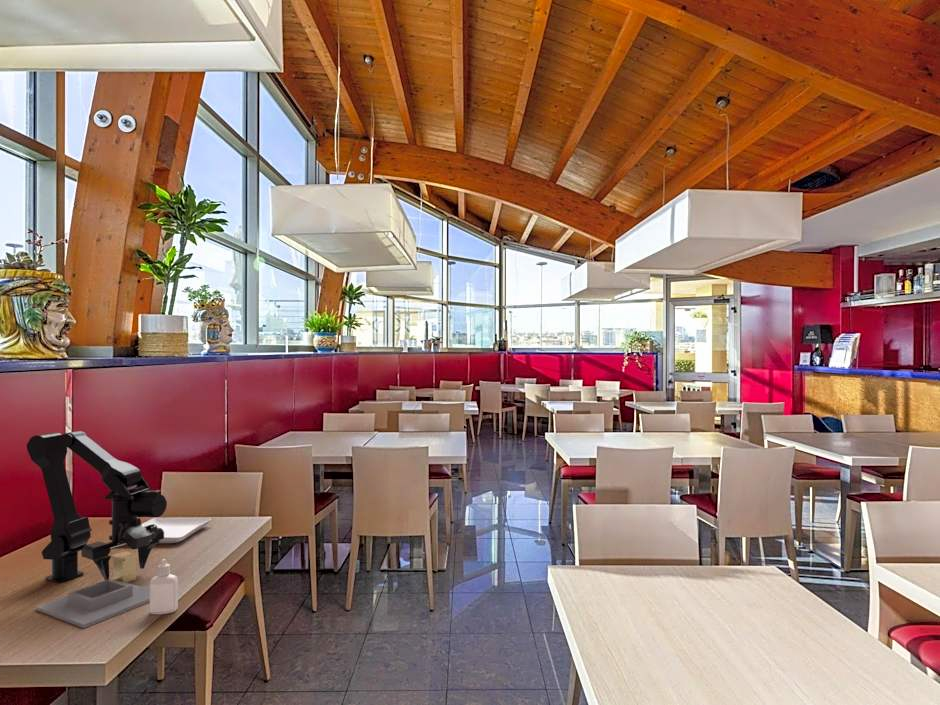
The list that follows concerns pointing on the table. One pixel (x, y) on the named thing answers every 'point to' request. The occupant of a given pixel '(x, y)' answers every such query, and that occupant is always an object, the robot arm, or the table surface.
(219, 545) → the table surface
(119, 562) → the wooden lipped block
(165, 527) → the salad plate
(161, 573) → the eye dropper bottle
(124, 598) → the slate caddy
